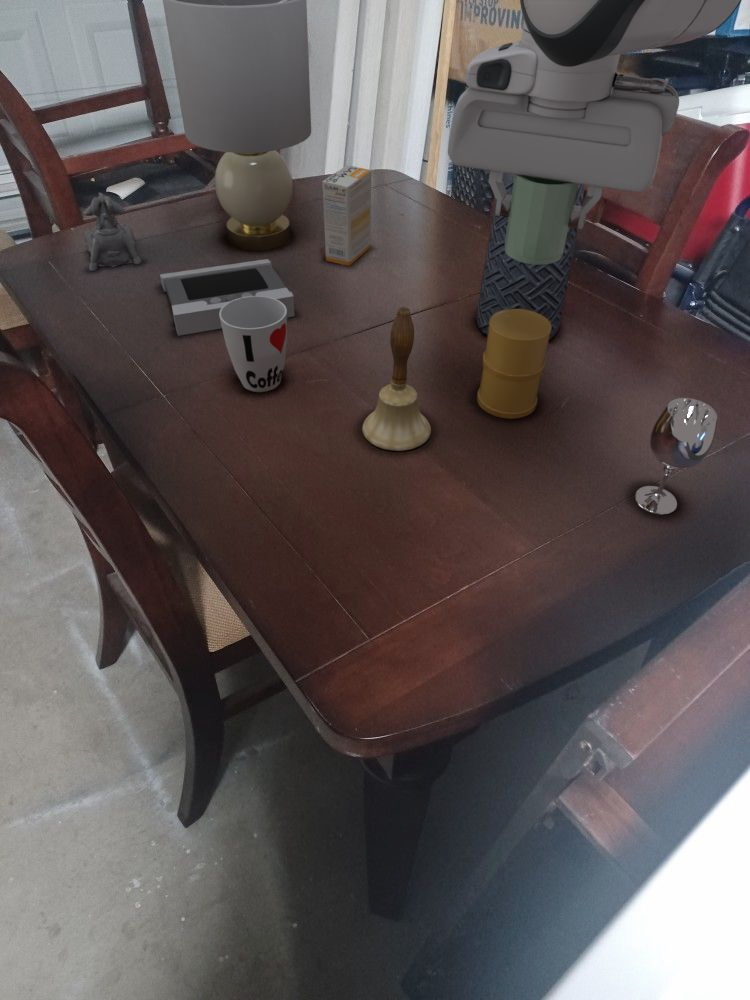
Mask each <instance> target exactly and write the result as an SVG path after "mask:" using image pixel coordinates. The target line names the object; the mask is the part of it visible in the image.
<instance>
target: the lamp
mask: <svg viewBox="0 0 750 1000" xmlns="http://www.w3.org/2000/svg"><path fill="white" fill-rule="evenodd" d="M162 4H163V5H162V6H163V9H164V10H163V12H164V15H165V16H164V17H165V23H166V28H167V34H168V41H169V46H170V52H171V59H172V64H173V70H174V77H175V82H176V88H177V94H178V95H177V96H178V101H179V106H180V107H179V108H180V112H181V113H180V114H181V118H182V124H183V131H184V137H185V139H186V140H187V141H188V142H189V143H191V144H193V145H194V146H197V147H198V148H202V149H205V150H210V151H215V152H222V153H223V155H222V156H221V158H220V159H219V160H218V163H217V165H216V168H215V173H214V189H215V194H216V197H217V200H218V202H219V204H220V206H221V207H222V209H223V211H225V213H226V214H227V215H229V217H230V218H229V219H228V220H227V222H226V233H227V239H228V242H229V244H230V245H231V246H233V247H234V248H237V249H239V250H243V251H248V252H265V251H271V250H276V249H280V248H282V247H284V246H285V245H287V244H288V243H289V241H290V240H291V227H290V226H291V225H290V220H289V218H288V217H287V216H285V215H284V214H285V213H286V212H287V210H288V208H289V206H290V203H291V201H292V198H293V193H294V182H293V176H292V173H291V170H290V167H289V165H288V163H287V161H286V160H285V159H284V157H283V156H282V155H281V154H280V153H279V152H278V151H279V150H285V149H288V148H291V147H294V146H297V145H299V144H301V143H303V142H305V141H306V140H308V139H309V137H310V136H311V135H312V113H311V110H312V109H311V88H310V85H311V84H310V64H309V63H310V59H309V35H308V33H309V32H308V30H309V29H308V8H307V7H308V6H307V5H308V4H307V0H162Z"/></svg>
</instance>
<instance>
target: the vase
mask: <svg viewBox="0 0 750 1000" xmlns="http://www.w3.org/2000/svg"><path fill="white" fill-rule="evenodd" d="M514 178H515V174H509V173H507V175H506V177H505V178H504V180H503V183H504V186H505V189H506V192H507V194H508V195H512V191H513V184H514ZM584 195H585V185H584V184H579V185H578V190H577V195H576V199H575V204H574V205H578V206H582V205H583V204H584V198H585V197H584ZM494 199H495V200H494V206H493V212H492V218H491V222H490V223H491V224H490V230H489V237H488V241H487V242H488V243H487V247H486V253H485V260H484V265H483V266H484V267H483V271H482V277H481V283H480V289H479V295H478V301H477V307H476V308H477V309H476V314H475V315H476V316H475V317H476V322H477V326H478V328H479V330H480V331H481V332H482V333H483V334H485V336H487V335H488V328H489V321H490V318H491V317H492V316H493V315H494V314H495V313H497V312H499V311H502V310H506V309H524V310H529V311H533V312H536V313H538V314H541V315H542V316H544V317H545V318H547V319H548V320H549V322H550V324H551V333H550V338H549V340H551V339H553V338H554V336H556V334H557V332H558V331H559V329H560V326H561V322H562V319H563V313H564V308H565V302H566V296H567V291H568V286H569V280H570V276H571V275H570V274H571V268H572V264H573V259H574V258H573V257H574V252H575V246H576V241H577V236H578V231H579V229H576V228H570V227H569V232H568V237H567V241H566V246H565V250H564V254H563V257H562V258H561V259H560V260H559V261H557V262H554V263H550V264H541V265H538V264H528V263H523V262H520V261H517V260H514V259H512V258H511V257H509V256H508V255H507V254H506V253H505V250H504V247H505V237H506V231H507V224H508V217H504V216H497V215H495V211H496V204H497V199H496V198H494Z"/></svg>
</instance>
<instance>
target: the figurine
mask: <svg viewBox="0 0 750 1000" xmlns="http://www.w3.org/2000/svg"><path fill="white" fill-rule="evenodd" d="M97 193H98V196H97V197H93V198H92V199H91V201H90V205H88V206H87V208H85V210H83V211H82V215H84V216H86V217H92V216H95V217H96V222H95V226H94V228H93V229H92V230H85V231H84V232H83V239H84V241H85V243H86V244H85V246H86V248H87V250H88V253H89V255H90V258H89V259H90V261H89V262H90V263H89V265H88V270H89V271H90V272H93V271H96V270H98V269H99V267H118V266H120V265H127V264H133V265H140V264H142V263H143V261H142V259H141V257H140V256H139V255H138V253H137V251H136V240H135V234H134V231H133V229H132V228H131V227H130V226H128V225H125V226H123V227H122V225H120V224H119V222H118V219H117V216H115V215H125V214H127V209H126V208H124V207H123V206H121V205H120V204H119V203H118V202H116V201H114V200H112V198H111V197H110V196H108V195H105V194H104V193H102V192H97Z"/></svg>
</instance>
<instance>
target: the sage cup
mask: <svg viewBox="0 0 750 1000" xmlns="http://www.w3.org/2000/svg"><path fill="white" fill-rule="evenodd" d="M578 185H579V184H577V183H570V182H563V181H557V180H550V179H543V178H536V177H530V176H523V175H516V174H515V178H514V184H513V191H512V197H511V205H510V211H509V217H508V224H507V231H506V237H505V247H504V250H505V253H506V254H507V255H508V256H509V257H511V258H512V259H514V260H517V261H520V262H523V263H528V264H538V265H541V264H550V263H554V262H557V261H559V260H560V259H561V258H562V257H563V254H564V250H565V246H566V241H567V237H568V232H569V227H568V224H569V221H570V215H571V211H572V209H573V207H574V204H575V199H576V195H577V190H578Z"/></svg>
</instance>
